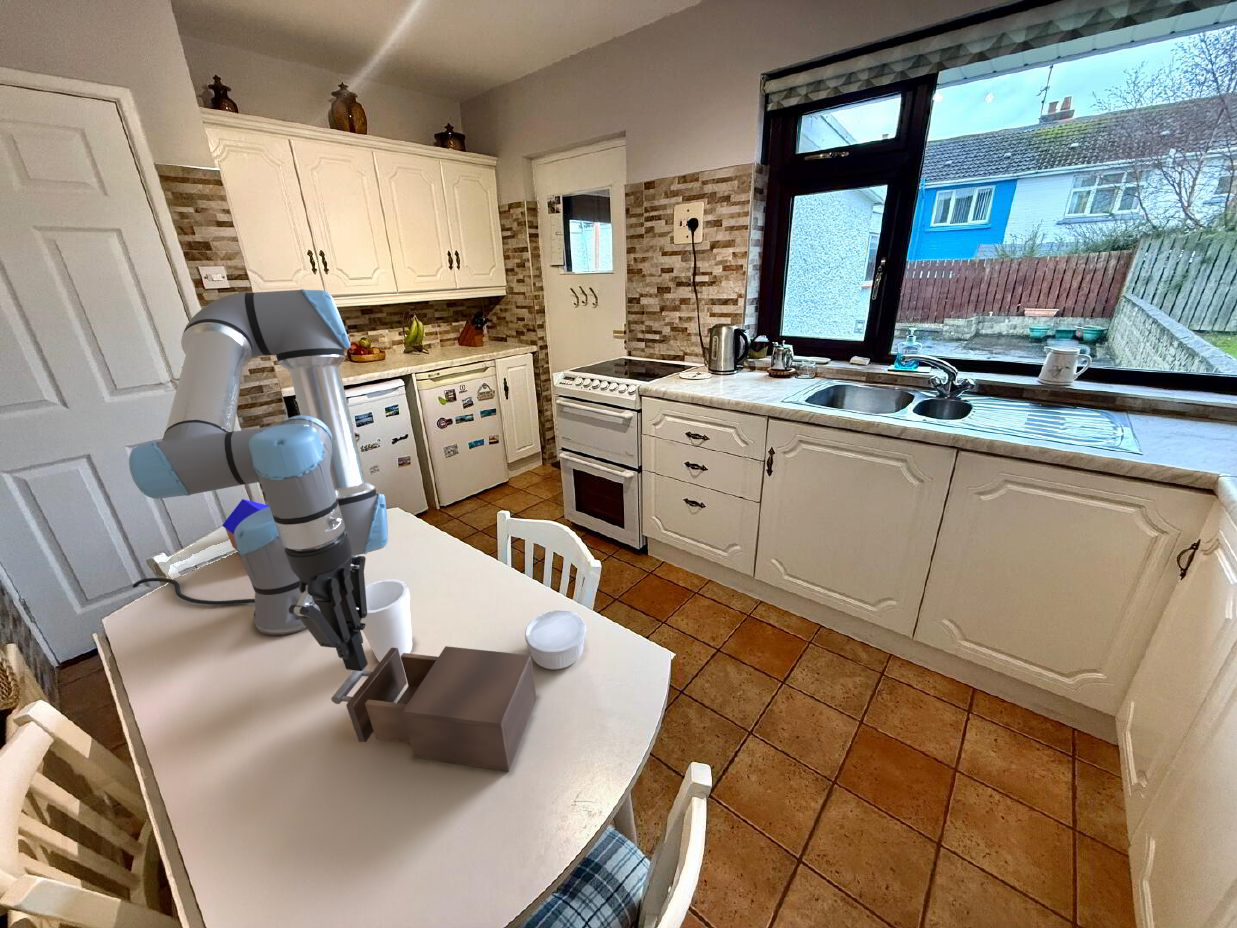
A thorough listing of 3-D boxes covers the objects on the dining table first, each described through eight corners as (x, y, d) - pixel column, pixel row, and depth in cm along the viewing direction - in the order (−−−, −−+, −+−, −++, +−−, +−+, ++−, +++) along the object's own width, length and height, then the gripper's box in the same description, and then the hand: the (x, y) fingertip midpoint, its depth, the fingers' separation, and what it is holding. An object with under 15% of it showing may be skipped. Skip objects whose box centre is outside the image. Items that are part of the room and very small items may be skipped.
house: (280, 527, 136) (268, 490, 131) (314, 549, 125) (301, 509, 120) (230, 547, 127) (215, 508, 122) (262, 572, 116) (246, 530, 112)
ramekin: (545, 625, 97) (542, 603, 95) (596, 637, 93) (595, 615, 91) (516, 666, 87) (512, 643, 85) (572, 681, 84) (570, 658, 82)
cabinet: (415, 758, 72) (402, 711, 68) (454, 688, 83) (445, 645, 79) (508, 771, 69) (500, 724, 66) (536, 698, 81) (530, 654, 77)
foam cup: (401, 673, 86) (385, 616, 81) (355, 666, 88) (337, 609, 83) (430, 636, 95) (417, 581, 90) (388, 630, 97) (373, 576, 92)
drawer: (327, 737, 74) (313, 700, 71) (373, 678, 84) (362, 644, 81) (441, 753, 71) (431, 715, 68) (474, 690, 82) (467, 655, 78)
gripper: (304, 568, 60) (351, 704, 69) (370, 515, 71) (402, 638, 81) (251, 563, 61) (304, 698, 70) (324, 512, 72) (361, 634, 82)
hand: (357, 666), depth 76 cm, fingers closed
